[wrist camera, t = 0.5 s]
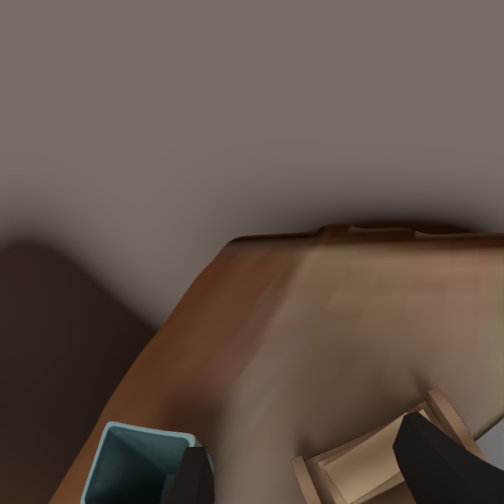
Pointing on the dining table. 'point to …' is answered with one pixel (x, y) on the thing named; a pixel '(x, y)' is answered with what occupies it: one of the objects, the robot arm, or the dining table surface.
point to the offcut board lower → (383, 488)
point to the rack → (398, 498)
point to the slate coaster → (493, 445)
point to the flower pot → (135, 464)
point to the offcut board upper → (366, 465)
